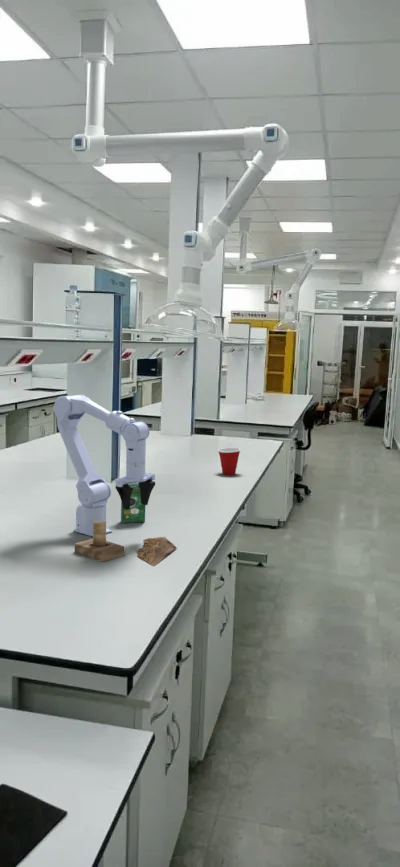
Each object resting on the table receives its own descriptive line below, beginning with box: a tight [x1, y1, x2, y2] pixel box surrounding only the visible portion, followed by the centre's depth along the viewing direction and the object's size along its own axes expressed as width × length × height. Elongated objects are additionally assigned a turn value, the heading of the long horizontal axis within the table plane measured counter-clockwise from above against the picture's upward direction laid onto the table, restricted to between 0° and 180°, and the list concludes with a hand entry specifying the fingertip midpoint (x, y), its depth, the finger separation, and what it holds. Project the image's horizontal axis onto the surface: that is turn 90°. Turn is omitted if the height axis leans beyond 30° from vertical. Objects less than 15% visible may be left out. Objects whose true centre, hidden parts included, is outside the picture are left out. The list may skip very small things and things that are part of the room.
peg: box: [92, 521, 107, 549], centre depth 183 cm, size 4×4×9 cm
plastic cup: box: [217, 447, 242, 476], centre depth 301 cm, size 11×11×12 cm
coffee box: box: [120, 483, 146, 524], centre depth 217 cm, size 8×3×13 cm, turn 104°
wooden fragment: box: [136, 536, 177, 567], centre depth 188 cm, size 26×11×1 cm, turn 174°
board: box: [74, 538, 125, 563], centre depth 184 cm, size 12×8×2 cm, turn 50°
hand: (135, 506), depth 196 cm, fingers open, 7 cm apart
